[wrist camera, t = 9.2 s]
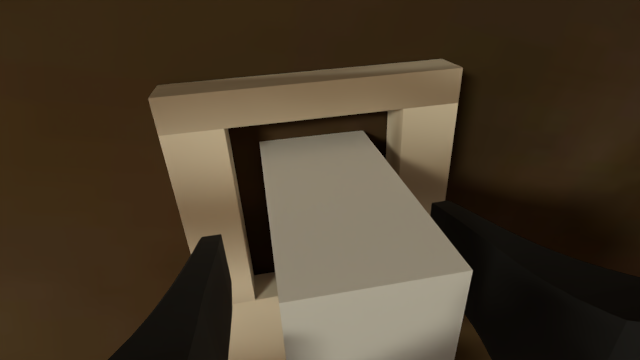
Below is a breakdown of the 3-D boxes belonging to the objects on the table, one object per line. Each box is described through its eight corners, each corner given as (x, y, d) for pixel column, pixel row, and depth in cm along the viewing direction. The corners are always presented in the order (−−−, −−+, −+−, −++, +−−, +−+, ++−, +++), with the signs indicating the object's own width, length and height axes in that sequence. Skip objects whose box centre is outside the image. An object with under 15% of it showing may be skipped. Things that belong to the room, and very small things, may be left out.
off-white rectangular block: (360, 244, 17) (440, 422, 11) (273, 257, 17) (298, 455, 10) (363, 130, 15) (473, 270, 8) (259, 141, 14) (279, 303, 7)
